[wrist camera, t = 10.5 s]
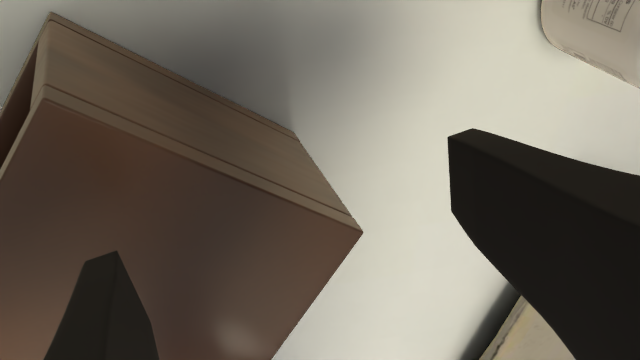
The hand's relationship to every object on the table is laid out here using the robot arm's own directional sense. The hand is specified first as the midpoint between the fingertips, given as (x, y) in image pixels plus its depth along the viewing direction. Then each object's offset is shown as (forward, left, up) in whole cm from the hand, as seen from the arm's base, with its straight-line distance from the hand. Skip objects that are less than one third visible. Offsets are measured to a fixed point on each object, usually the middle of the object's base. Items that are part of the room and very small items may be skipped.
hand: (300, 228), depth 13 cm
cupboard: (-6, +1, -9) cm, 11 cm away
